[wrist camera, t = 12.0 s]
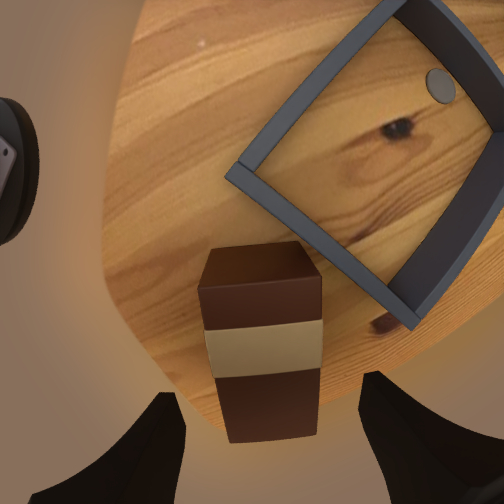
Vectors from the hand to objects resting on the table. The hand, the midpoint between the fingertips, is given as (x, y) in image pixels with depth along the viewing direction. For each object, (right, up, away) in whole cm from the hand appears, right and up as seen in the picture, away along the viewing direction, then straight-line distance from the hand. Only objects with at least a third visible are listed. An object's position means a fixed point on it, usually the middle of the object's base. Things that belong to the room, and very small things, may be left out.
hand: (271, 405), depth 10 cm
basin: (+7, +12, +4) cm, 14 cm away
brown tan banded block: (0, +2, +6) cm, 7 cm away
